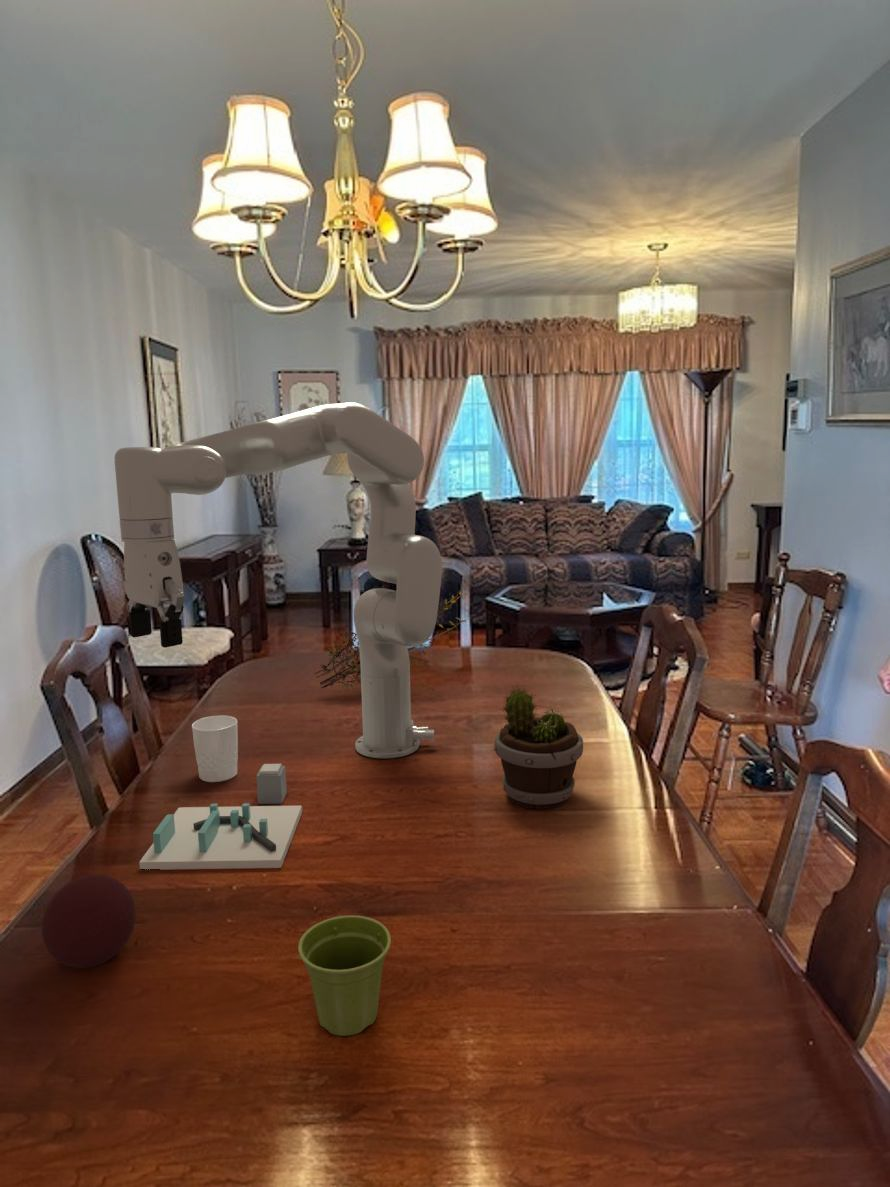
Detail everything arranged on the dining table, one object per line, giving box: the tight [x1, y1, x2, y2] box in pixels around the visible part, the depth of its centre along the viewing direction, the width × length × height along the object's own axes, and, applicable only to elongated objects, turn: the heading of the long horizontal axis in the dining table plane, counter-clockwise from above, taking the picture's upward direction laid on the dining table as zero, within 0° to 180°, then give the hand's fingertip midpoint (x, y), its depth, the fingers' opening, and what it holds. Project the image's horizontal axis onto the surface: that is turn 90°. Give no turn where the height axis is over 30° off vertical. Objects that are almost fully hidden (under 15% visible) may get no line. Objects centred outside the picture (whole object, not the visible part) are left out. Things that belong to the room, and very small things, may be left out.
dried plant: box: [314, 578, 474, 695], centre depth 188 cm, size 30×31×45 cm
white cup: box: [191, 714, 239, 783], centre depth 142 cm, size 8×8×10 cm
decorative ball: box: [41, 874, 137, 969], centre depth 91 cm, size 10×10×10 cm
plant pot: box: [297, 915, 392, 1037], centre depth 82 cm, size 9×9×9 cm
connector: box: [255, 763, 288, 805], centre depth 133 cm, size 4×4×6 cm
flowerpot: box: [493, 681, 584, 810], centre depth 131 cm, size 14×15×20 cm
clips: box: [209, 802, 268, 842], centre depth 120 cm, size 10×8×2 cm
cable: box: [193, 816, 276, 852], centre depth 119 cm, size 16×6×1 cm, turn 63°
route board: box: [138, 805, 303, 871], centre depth 120 cm, size 20×17×1 cm
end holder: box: [152, 813, 218, 853], centre depth 116 cm, size 8×6×3 cm
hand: (156, 640), depth 122 cm, fingers open, 9 cm apart
